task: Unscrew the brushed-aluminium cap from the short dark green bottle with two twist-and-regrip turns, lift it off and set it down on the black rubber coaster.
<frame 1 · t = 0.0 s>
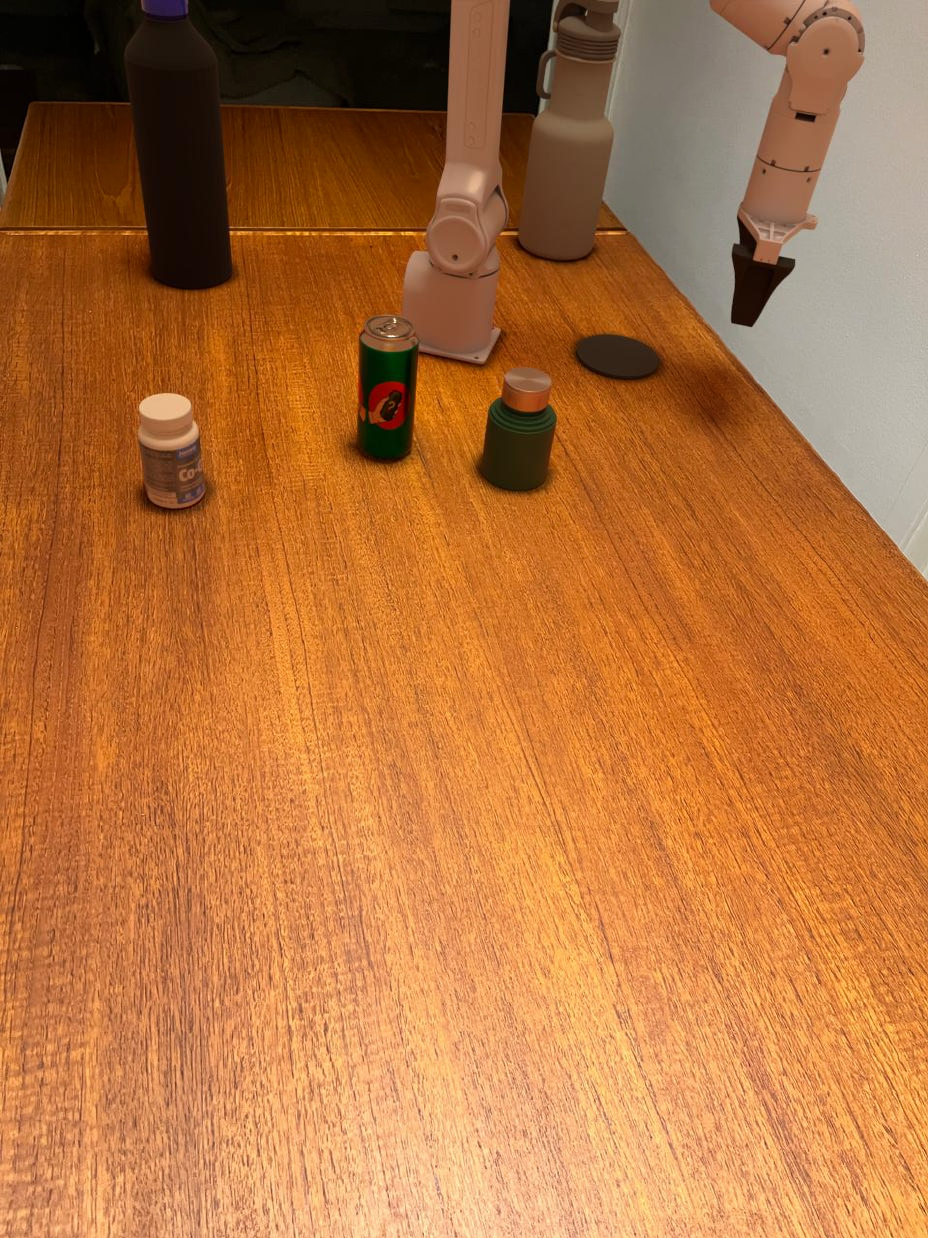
hand: (743, 306, 94), 10 cm above the table, tool pointing down, fingers open, 7 cm apart
soda can: (384, 449, 89), on the table
coaster: (617, 357, 105), on the table
bottle: (193, 273, 111), on the table
cap: (527, 382, 82), point 9 cm above the table, screwed on, not yet turned
pill bottle: (177, 494, 81), on the table
water bottle: (553, 246, 125), on the table
green bottle: (513, 470, 88), on the table
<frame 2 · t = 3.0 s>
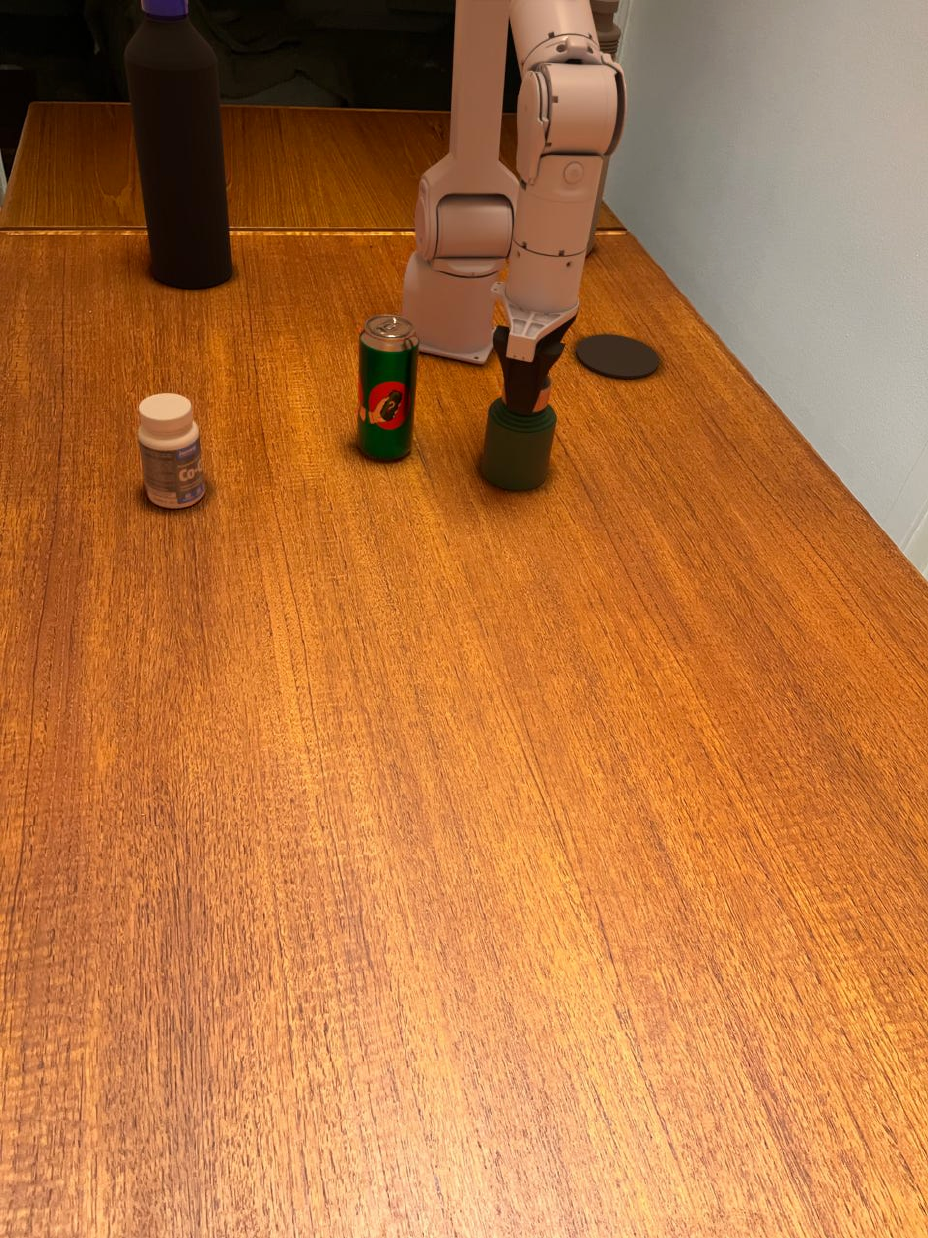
hand: (525, 397, 83), 8 cm above the table, tool pointing down, fingers closed on cap, 4 cm apart
cap: (527, 382, 82), point 9 cm above the table, screwed on, not yet turned, touching gripper
everything else where it was.
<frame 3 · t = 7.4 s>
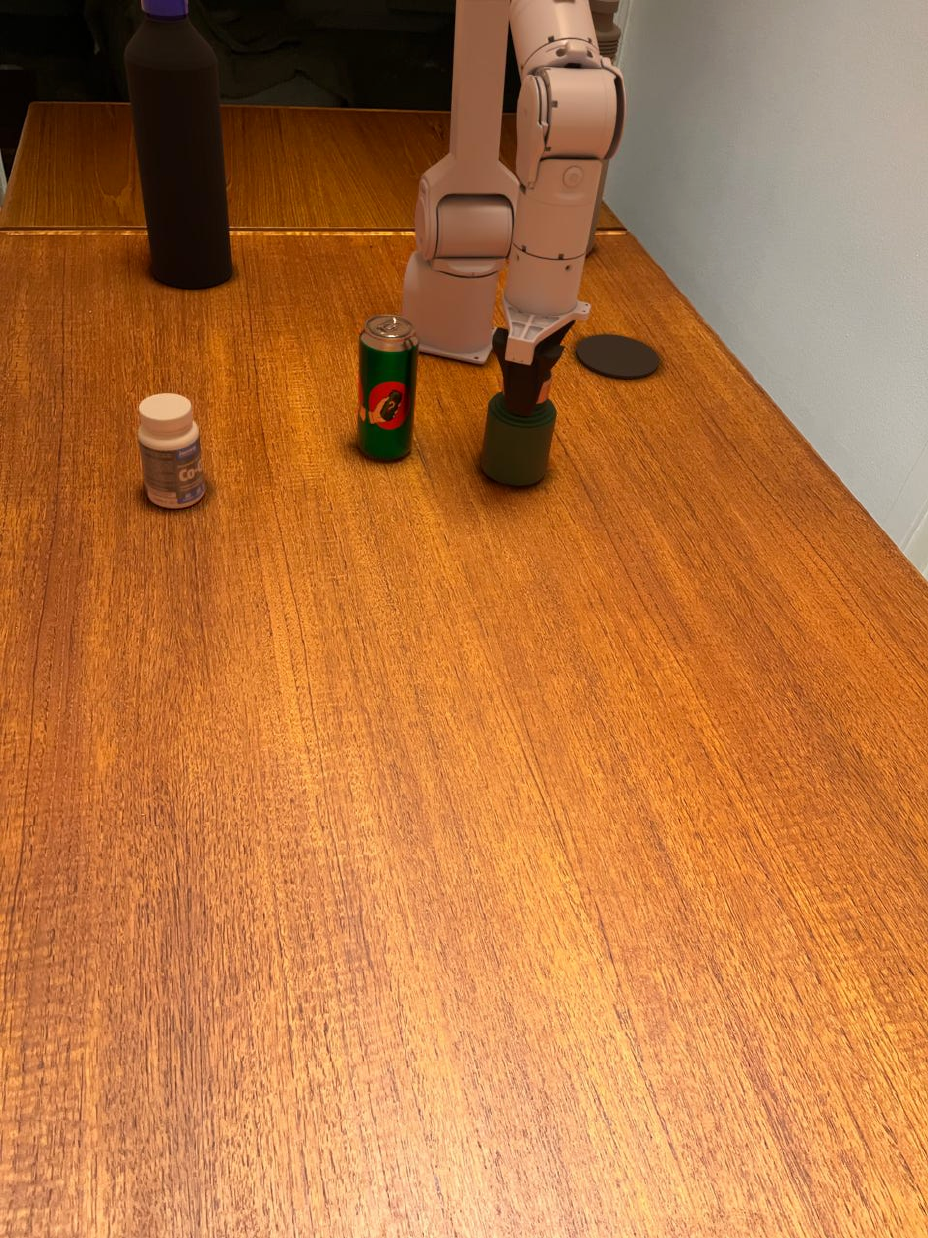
hand: (524, 399, 83), 7 cm above the table, tool pointing down, fingers closed on cap, 4 cm apart
cap: (528, 374, 82), point 10 cm above the table, turned 179° so far, risen 0.2 cm, still on its thread, touching gripper
green bottle: (513, 465, 88), on the table
everything else where it was.
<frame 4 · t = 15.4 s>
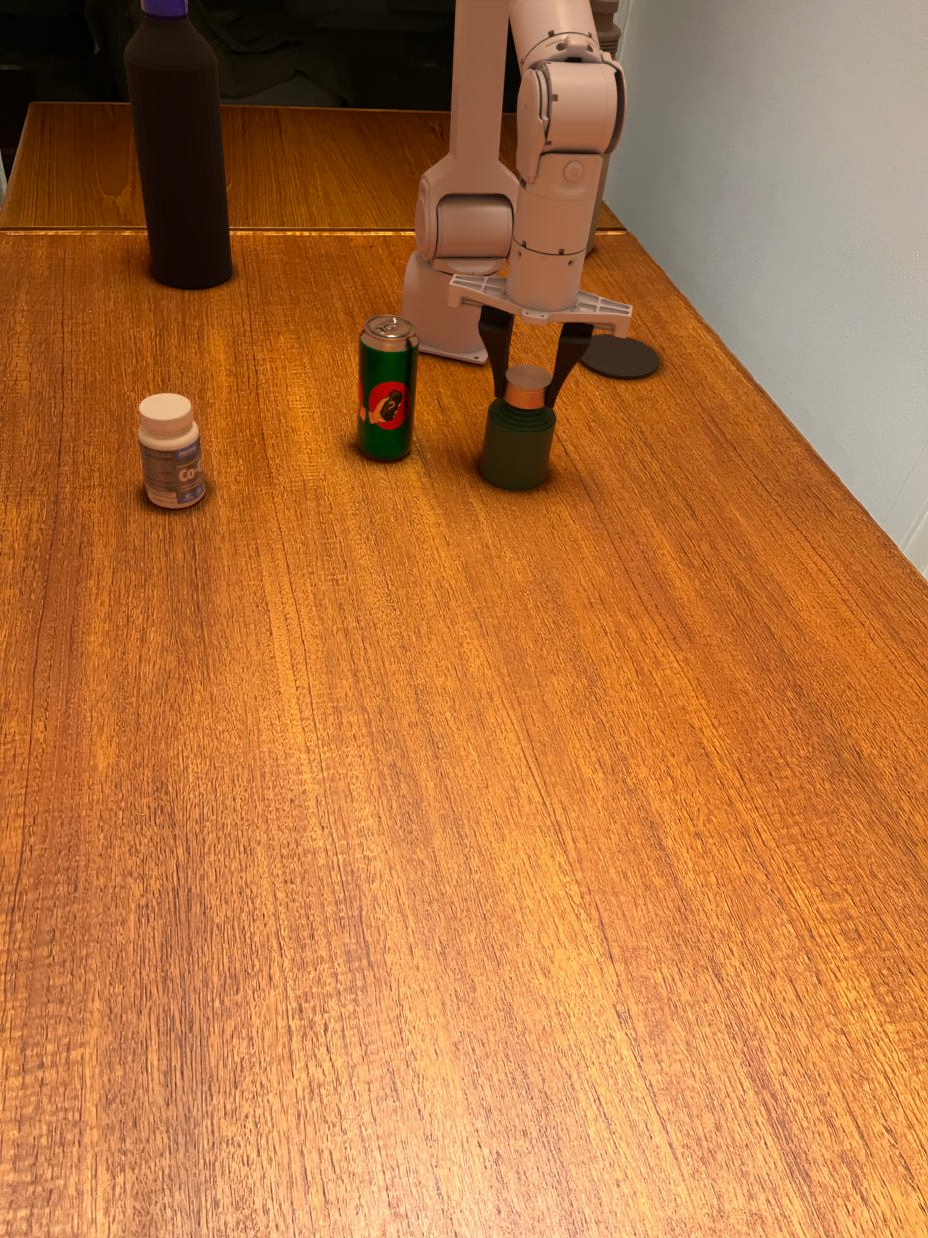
hand: (525, 396, 83), 8 cm above the table, tool pointing down, fingers closed on cap, 4 cm apart
cap: (528, 379, 82), point 9 cm above the table, turned 273° so far, risen 0.3 cm, still on its thread, touching gripper
green bottle: (512, 470, 88), on the table
everything else where it was.
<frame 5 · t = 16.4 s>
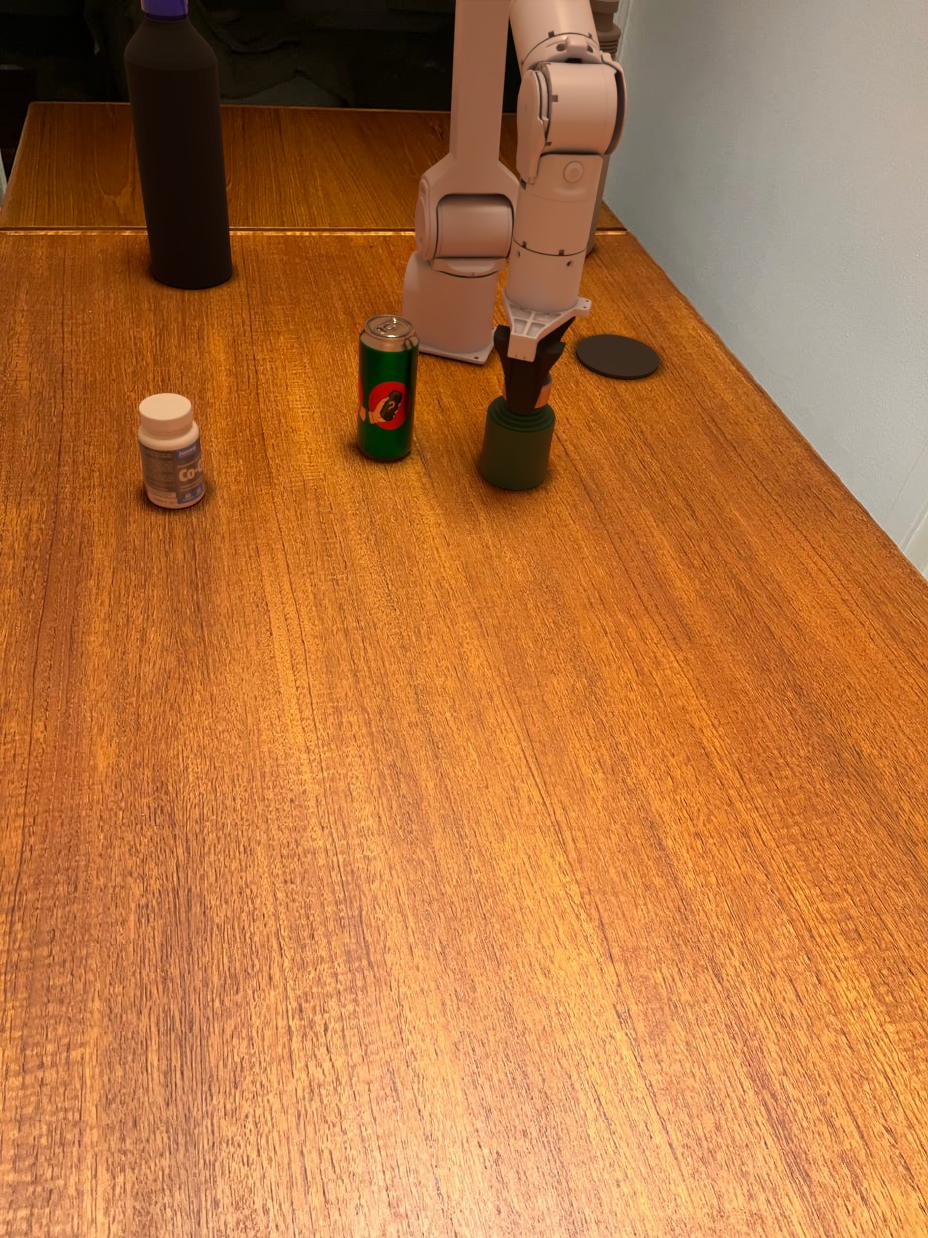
hand: (525, 397, 83), 8 cm above the table, tool pointing down, fingers closed on cap, 4 cm apart
cap: (528, 378, 82), point 9 cm above the table, off its thread, touching gripper
everything else where it was.
when the fingers open (2 cm above the table, at t = 21.7 s): cap drops 2 cm, resting on coaster.
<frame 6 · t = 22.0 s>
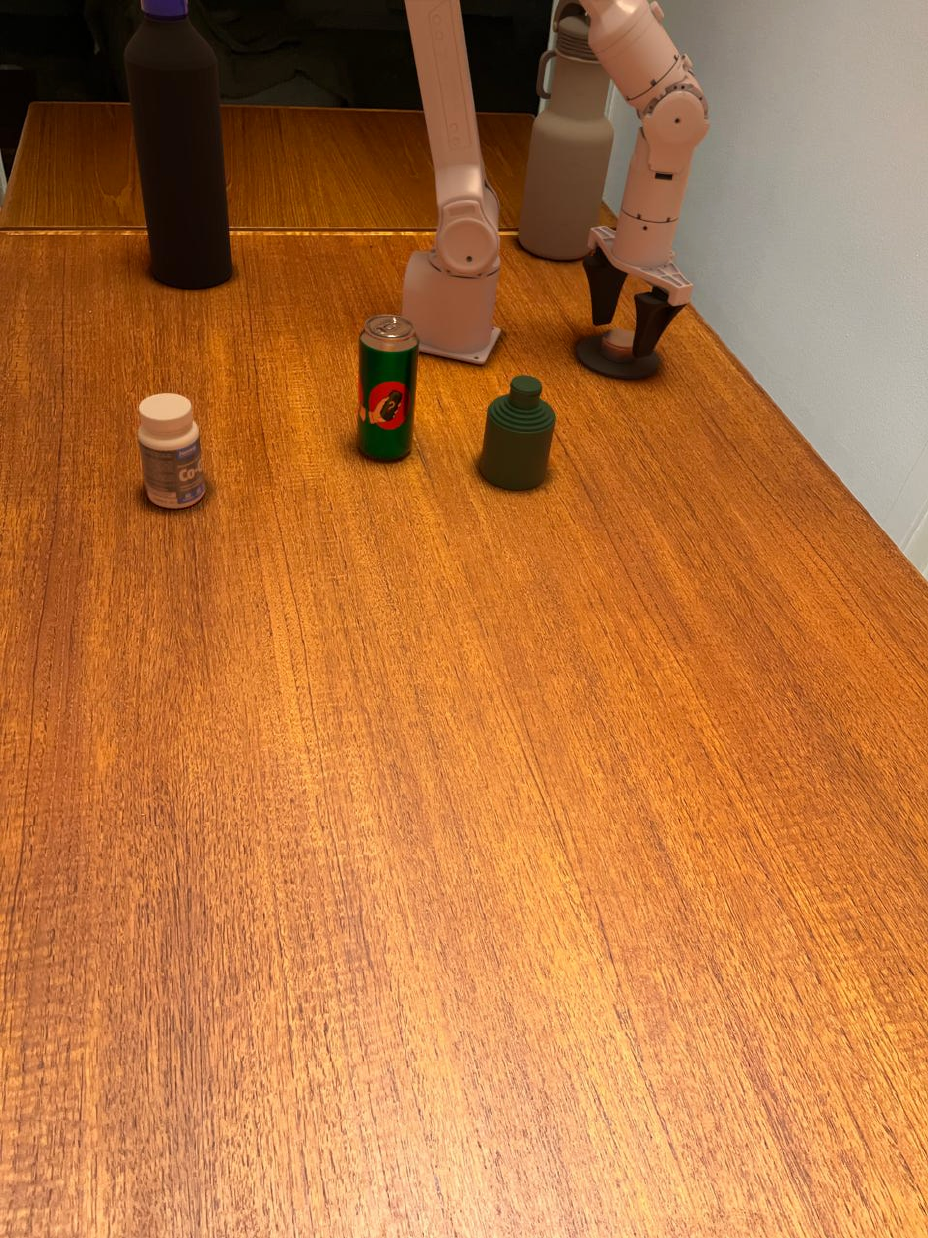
hand: (621, 339, 104), 2 cm above the table, tool pointing down, fingers open, 7 cm apart
cap: (621, 339, 104), point 2 cm above the table, off its thread, touching coaster
everything else where it was.
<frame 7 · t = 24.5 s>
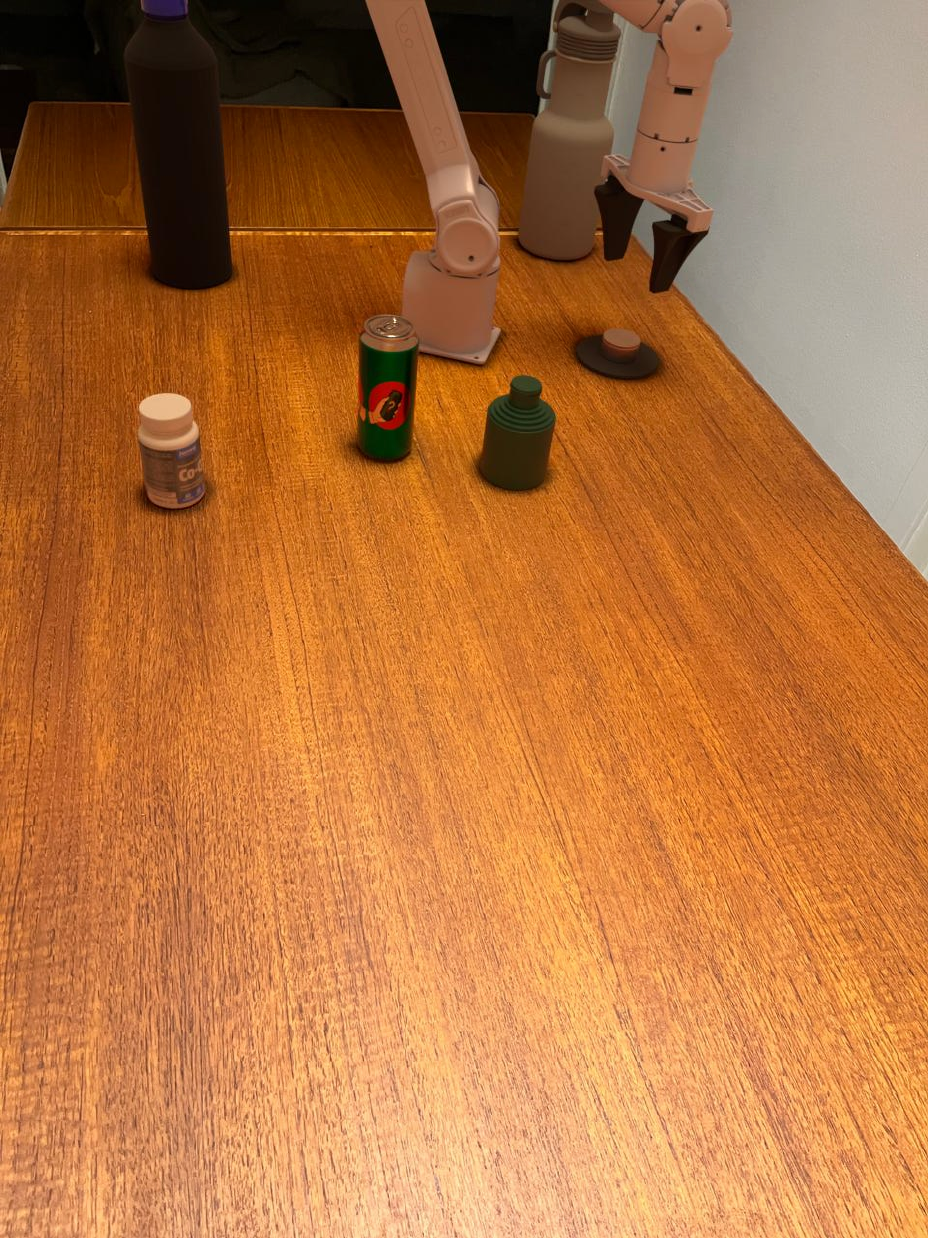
hand: (635, 274, 99), 9 cm above the table, tool pointing down, fingers open, 7 cm apart
nothing on the table moved.
at the end: cap came off its thread; cap inside the target area on the coaster (0.0 cm from its centre), point 2.1 cm above the coaster's base; the gripper is holding nothing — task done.
